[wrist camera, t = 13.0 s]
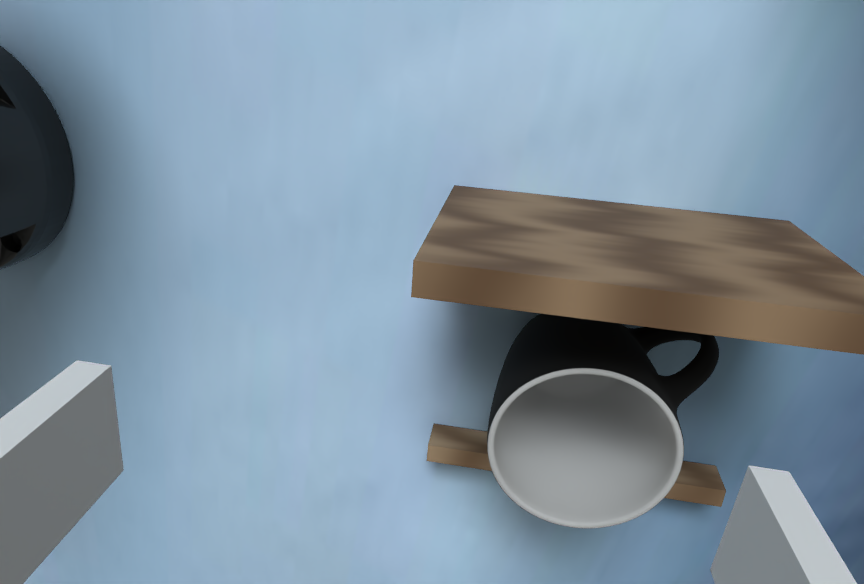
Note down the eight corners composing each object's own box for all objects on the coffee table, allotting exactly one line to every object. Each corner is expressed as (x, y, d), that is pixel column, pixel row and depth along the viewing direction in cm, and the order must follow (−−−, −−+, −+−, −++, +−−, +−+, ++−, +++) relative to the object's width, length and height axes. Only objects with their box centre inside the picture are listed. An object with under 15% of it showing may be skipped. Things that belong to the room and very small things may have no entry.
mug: (543, 436, 41) (545, 553, 32) (471, 326, 39) (450, 418, 30) (724, 358, 37) (786, 465, 28) (654, 231, 35) (697, 302, 26)
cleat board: (432, 438, 42) (391, 596, 31) (454, 185, 36) (413, 260, 24) (711, 481, 40) (783, 667, 29) (789, 221, 34) (925, 322, 22)
